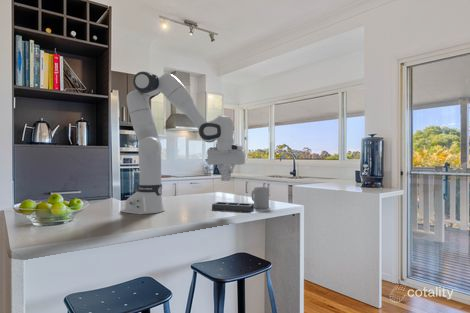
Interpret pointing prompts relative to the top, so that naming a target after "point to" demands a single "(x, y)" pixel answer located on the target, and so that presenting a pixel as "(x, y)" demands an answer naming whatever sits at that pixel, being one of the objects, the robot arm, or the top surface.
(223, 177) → the steel block
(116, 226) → the top surface
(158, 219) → the top surface
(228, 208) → the black compartment tray
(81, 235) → the top surface
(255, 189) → the mug
